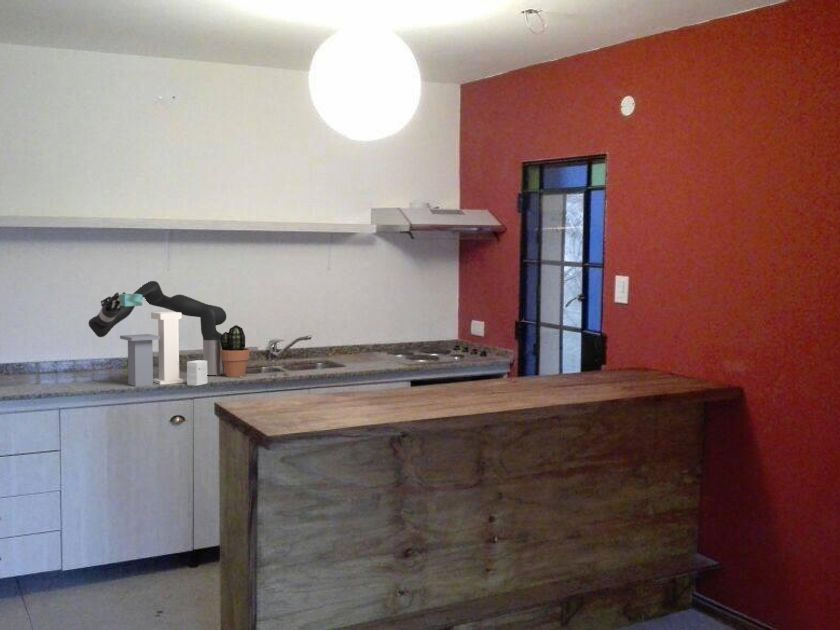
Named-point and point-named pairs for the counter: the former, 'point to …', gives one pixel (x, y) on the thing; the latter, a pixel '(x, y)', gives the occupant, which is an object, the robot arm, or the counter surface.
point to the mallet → (130, 299)
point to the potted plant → (234, 352)
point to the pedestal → (140, 359)
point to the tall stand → (168, 347)
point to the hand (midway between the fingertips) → (121, 294)
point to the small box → (197, 372)
